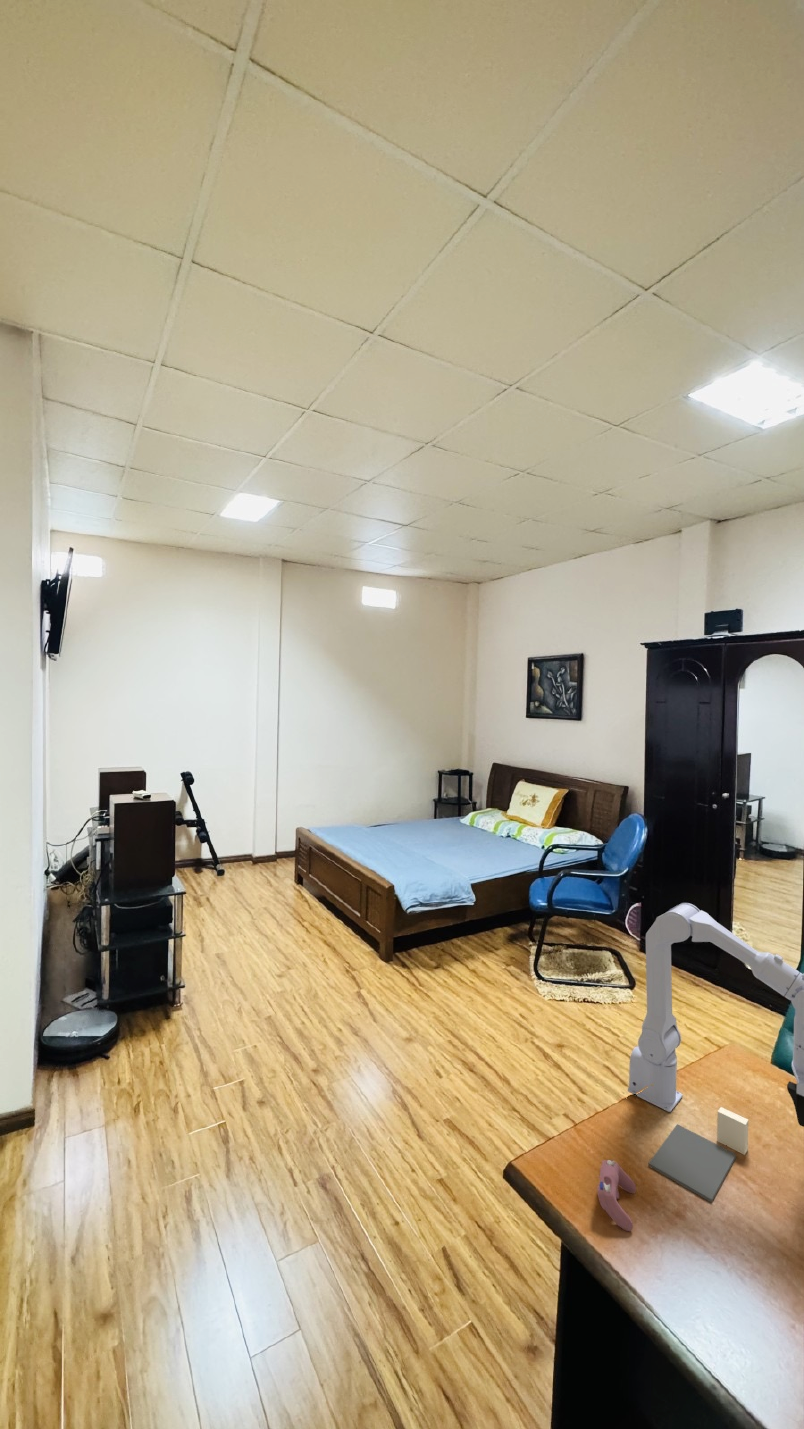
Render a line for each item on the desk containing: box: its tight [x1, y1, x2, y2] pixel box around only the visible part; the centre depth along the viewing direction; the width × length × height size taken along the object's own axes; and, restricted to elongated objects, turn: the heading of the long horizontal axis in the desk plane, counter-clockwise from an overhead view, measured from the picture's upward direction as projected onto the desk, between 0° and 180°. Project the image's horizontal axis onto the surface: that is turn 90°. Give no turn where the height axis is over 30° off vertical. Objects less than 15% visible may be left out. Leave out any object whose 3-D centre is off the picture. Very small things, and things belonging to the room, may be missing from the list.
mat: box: [648, 1123, 737, 1203], centre depth 108 cm, size 11×15×1 cm
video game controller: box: [596, 1159, 637, 1232], centre depth 98 cm, size 10×5×7 cm, turn 154°
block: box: [716, 1106, 749, 1156], centre depth 113 cm, size 5×2×6 cm, turn 45°
